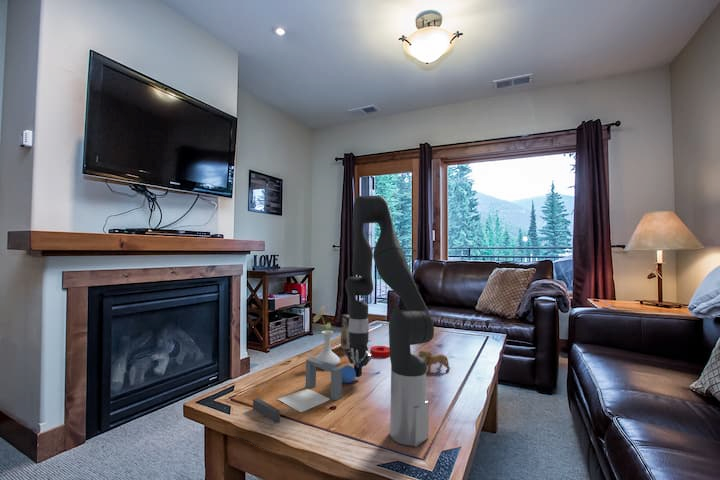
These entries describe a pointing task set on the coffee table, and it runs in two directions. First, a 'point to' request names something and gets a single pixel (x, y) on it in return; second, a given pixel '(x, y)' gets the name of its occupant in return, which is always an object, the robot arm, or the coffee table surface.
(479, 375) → the coffee table surface
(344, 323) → the coffee box
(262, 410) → the wall
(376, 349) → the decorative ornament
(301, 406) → the white panel
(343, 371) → the ball
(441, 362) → the lion figurine
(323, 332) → the flower in vase
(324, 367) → the gray arch
